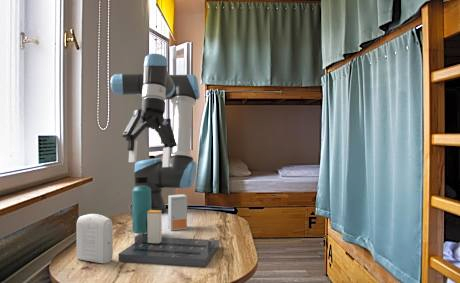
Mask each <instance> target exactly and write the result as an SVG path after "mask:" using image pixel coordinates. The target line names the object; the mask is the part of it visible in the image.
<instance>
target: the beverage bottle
mask: <svg viewBox="0 0 460 283" xmlns="http://www.w3.org/2000/svg"><path fill="white" fill-rule="evenodd" d="M147 182H148V178H147V176H137V177H136V178H135V181H134V184H135V183H147ZM131 193H132V194H131V195H132V196H131V197H132V202H131V205H132V204H133V208H132V209H133V210H132V213H131V215H132V219H131V220H132V233H134V234H138V235H139V234H148V227H147V211H149V210H151V188H150V187H148V186H136V187H135V186H134V187H133V189H132V190H131Z"/></svg>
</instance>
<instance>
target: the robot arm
mask: <svg viewBox="0 0 460 283" xmlns="http://www.w3.org/2000/svg"><path fill="white" fill-rule="evenodd" d="M143 62H144V63H143V73H115V74H113V75H112V76H111V78H110V89H111V91H112V93H113V94H114V95H116V96H118V95H119V96H130V95H132V96H135V95H136V96H138V95H139V96H140V95H141V99H142V100H141V108H139V109H135V110H133V111H132V116H131V119H130V120H129V122H128V124H127V126H126V127H125V129H124V131H123V133H122V137H123V138H124V139H125V141H127V151H128V163H135V164H134V170H133V174H134V188H135V187H136V186H148V187H150V188H151V210H162V212H161V214H163V213H165V212H166V210H167V206H166V202H165V200H164V195H163V192H162V189H189V188H192V186H193V185H194V183H195V181H196V180H195V179H196V175H197V162H196V161H195V160H194V157H193V156H192V155H191V141H192V138H191V137H192V119H193V107H194V106H195V105H196V104H197V101H198V100H200V96H201V95H200V87H199V82H198V78H197V76H196V75H195V74H188V73H186V74H170V73H169V71H168V59H167V57H166V56H165V55H164V54H161V53H149V54H147V55H146V56H145V57H144V61H143ZM166 100H170V102H171V104H173V113H172V120H171V118H168V117H167V118H164V114H165V111H166ZM140 119H141V121H140ZM139 121H140V122H139ZM171 121H172V122H171ZM138 122H139V123H138ZM136 126H137V127H136ZM146 128H148V129H151V130H154V131H155V132H157V134H158V136H159V138H160V140H161V142H162V143H163V146H164V147H163V148H162V158H161V157H158V158H157V157H156V158H149V159H142V160H138V161H137V156H138V155H137V154H138V142H139V141H138V140H137V138H138V137H139V136H140V134H142V132H143V131H144V130H146ZM137 176H147V178H148V182H147V183H135V178H136V177H137ZM132 208H133V204H132V203H131V205H130V213H131V214H132V210H133V209H132Z"/></svg>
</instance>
